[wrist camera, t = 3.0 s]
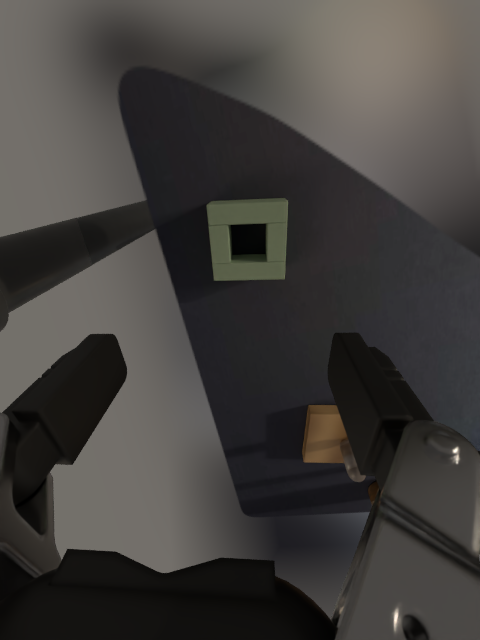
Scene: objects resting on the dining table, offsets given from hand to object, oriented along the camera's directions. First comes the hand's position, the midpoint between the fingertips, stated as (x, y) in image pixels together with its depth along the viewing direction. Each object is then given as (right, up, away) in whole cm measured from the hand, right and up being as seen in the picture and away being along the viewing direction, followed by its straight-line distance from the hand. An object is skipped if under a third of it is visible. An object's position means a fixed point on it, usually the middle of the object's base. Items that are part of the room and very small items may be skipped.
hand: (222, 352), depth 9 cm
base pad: (+15, -14, +25) cm, 32 cm away
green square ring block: (+1, +9, +13) cm, 15 cm away
